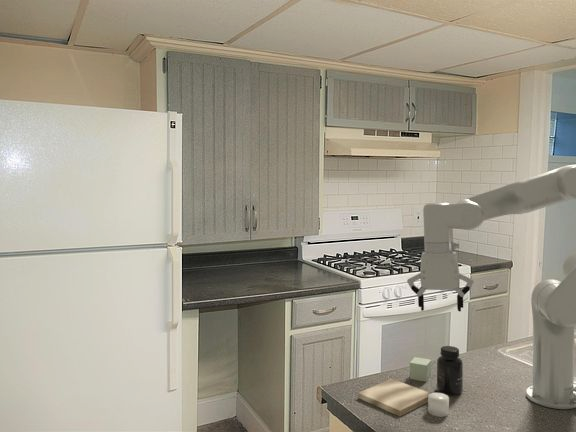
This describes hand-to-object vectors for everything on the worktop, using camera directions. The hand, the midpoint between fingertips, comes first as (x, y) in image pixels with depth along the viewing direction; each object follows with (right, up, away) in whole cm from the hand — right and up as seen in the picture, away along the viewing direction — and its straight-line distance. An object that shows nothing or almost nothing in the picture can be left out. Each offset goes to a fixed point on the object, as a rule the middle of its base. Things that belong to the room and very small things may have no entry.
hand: (440, 309), depth 134 cm
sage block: (-2, -22, +11) cm, 25 cm away
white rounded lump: (-4, -24, -11) cm, 26 cm away
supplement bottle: (+3, -23, +1) cm, 23 cm away
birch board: (-13, -24, -3) cm, 27 cm away
